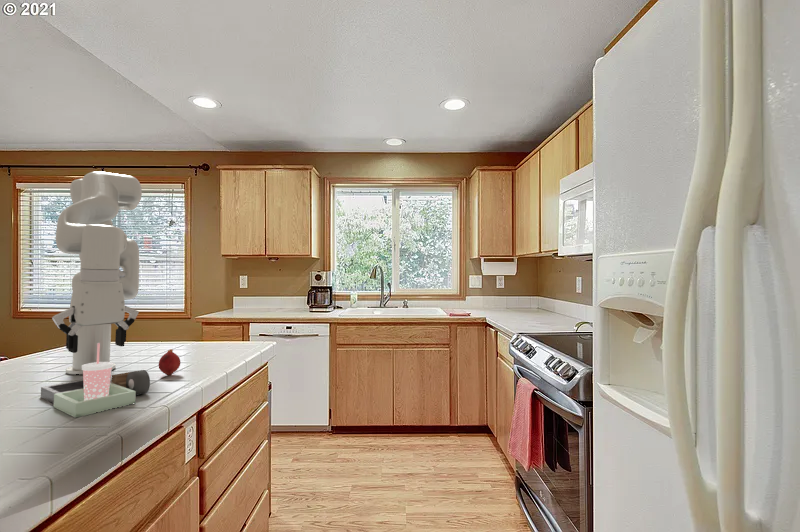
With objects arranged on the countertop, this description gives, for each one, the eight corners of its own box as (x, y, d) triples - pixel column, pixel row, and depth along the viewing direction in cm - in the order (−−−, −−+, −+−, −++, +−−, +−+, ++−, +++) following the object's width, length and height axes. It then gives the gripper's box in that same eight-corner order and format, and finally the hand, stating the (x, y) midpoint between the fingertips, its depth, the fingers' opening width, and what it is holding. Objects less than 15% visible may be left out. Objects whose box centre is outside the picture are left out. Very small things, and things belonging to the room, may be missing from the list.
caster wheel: (124, 393, 107) (125, 370, 107) (138, 390, 109) (139, 368, 110) (136, 398, 103) (137, 374, 103) (150, 394, 106) (151, 371, 106)
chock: (111, 392, 108) (111, 375, 108) (135, 387, 113) (136, 370, 114) (120, 395, 106) (120, 378, 106) (145, 390, 111) (145, 373, 111)
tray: (53, 407, 95) (54, 394, 95) (112, 394, 105) (112, 383, 106) (75, 417, 89) (75, 403, 89) (135, 403, 99) (135, 391, 99)
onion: (170, 378, 123) (171, 351, 123) (153, 377, 124) (154, 350, 124) (184, 374, 128) (184, 348, 128) (168, 372, 129) (168, 347, 130)
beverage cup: (109, 404, 96) (111, 344, 96) (76, 408, 93) (79, 345, 94) (114, 397, 101) (116, 340, 102) (83, 400, 99) (85, 341, 99)
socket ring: (40, 397, 102) (41, 387, 102) (87, 388, 111) (88, 378, 111) (56, 404, 97) (56, 394, 97) (104, 394, 105) (105, 385, 105)
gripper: (131, 275, 107) (129, 341, 107) (48, 276, 93) (45, 352, 93) (146, 277, 103) (143, 345, 103) (61, 278, 89) (58, 357, 89)
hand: (97, 348), depth 98 cm, fingers open, 9 cm apart
